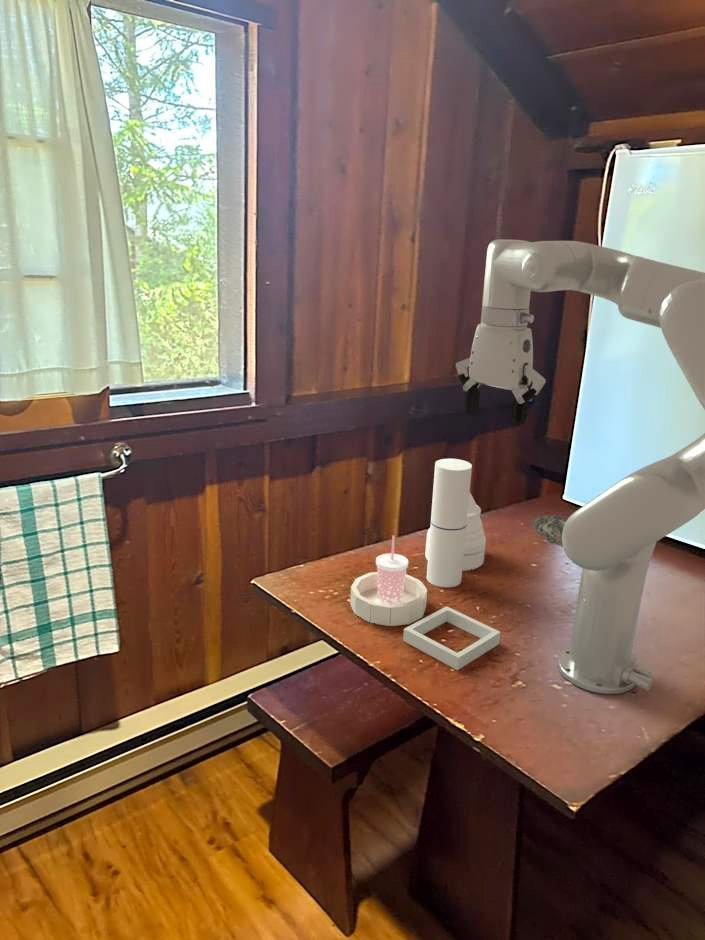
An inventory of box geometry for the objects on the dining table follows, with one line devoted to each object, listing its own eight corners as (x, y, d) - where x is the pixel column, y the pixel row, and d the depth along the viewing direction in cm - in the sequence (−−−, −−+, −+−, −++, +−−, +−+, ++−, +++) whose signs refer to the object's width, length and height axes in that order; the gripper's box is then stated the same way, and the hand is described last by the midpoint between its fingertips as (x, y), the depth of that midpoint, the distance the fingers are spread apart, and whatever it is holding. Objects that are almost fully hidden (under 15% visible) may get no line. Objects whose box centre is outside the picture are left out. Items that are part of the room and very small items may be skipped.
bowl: (439, 607, 144) (441, 590, 143) (390, 633, 134) (391, 615, 133) (386, 581, 153) (387, 565, 152) (336, 604, 144) (336, 586, 142)
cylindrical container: (421, 581, 154) (429, 466, 146) (434, 568, 160) (443, 456, 152) (454, 590, 151) (464, 472, 142) (466, 576, 157) (477, 462, 148)
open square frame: (499, 643, 133) (500, 632, 132) (457, 670, 124) (458, 657, 124) (445, 617, 140) (446, 606, 140) (403, 640, 132) (403, 628, 132)
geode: (597, 558, 168) (614, 536, 180) (599, 542, 167) (616, 521, 179) (516, 538, 178) (537, 518, 190) (518, 523, 177) (539, 504, 189)
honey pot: (413, 554, 166) (418, 477, 160) (452, 540, 174) (459, 466, 168) (456, 576, 157) (463, 495, 151) (496, 560, 165) (504, 483, 159)
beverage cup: (403, 613, 140) (408, 544, 135) (371, 608, 141) (374, 540, 136) (407, 597, 146) (412, 531, 141) (376, 593, 147) (379, 527, 142)
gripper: (562, 323, 121) (550, 426, 126) (474, 310, 132) (466, 405, 138) (537, 326, 115) (525, 433, 121) (448, 313, 127) (441, 412, 132)
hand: (494, 418), depth 129 cm, fingers open, 9 cm apart
